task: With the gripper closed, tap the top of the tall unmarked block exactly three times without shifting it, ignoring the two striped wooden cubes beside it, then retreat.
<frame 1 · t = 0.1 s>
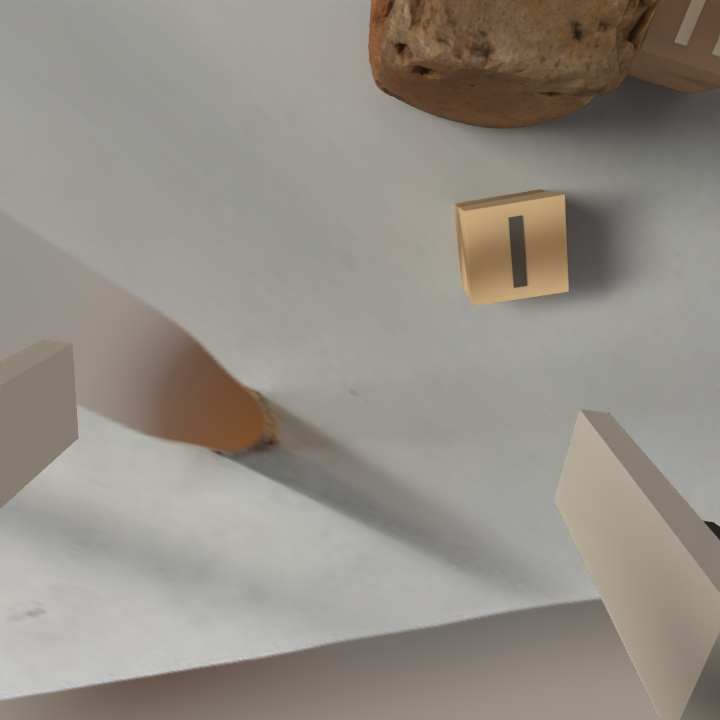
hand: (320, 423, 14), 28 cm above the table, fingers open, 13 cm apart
block: (454, 62, 36), on the table
cube one stripe: (499, 239, 40), on the table
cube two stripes: (665, 30, 35), on the table
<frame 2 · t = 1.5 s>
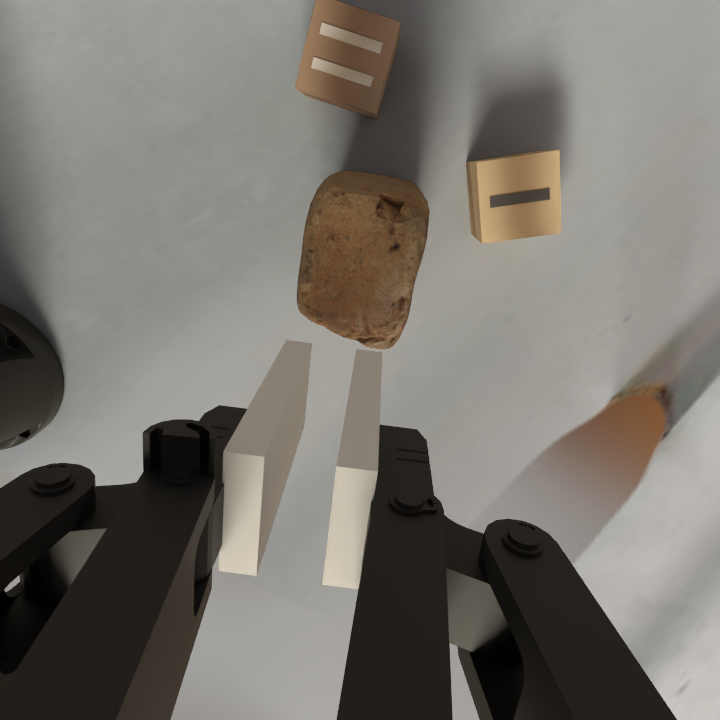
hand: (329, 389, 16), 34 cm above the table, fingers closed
block: (368, 235, 49), on the table
cube one stripe: (503, 193, 47), on the table
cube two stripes: (352, 68, 44), on the table
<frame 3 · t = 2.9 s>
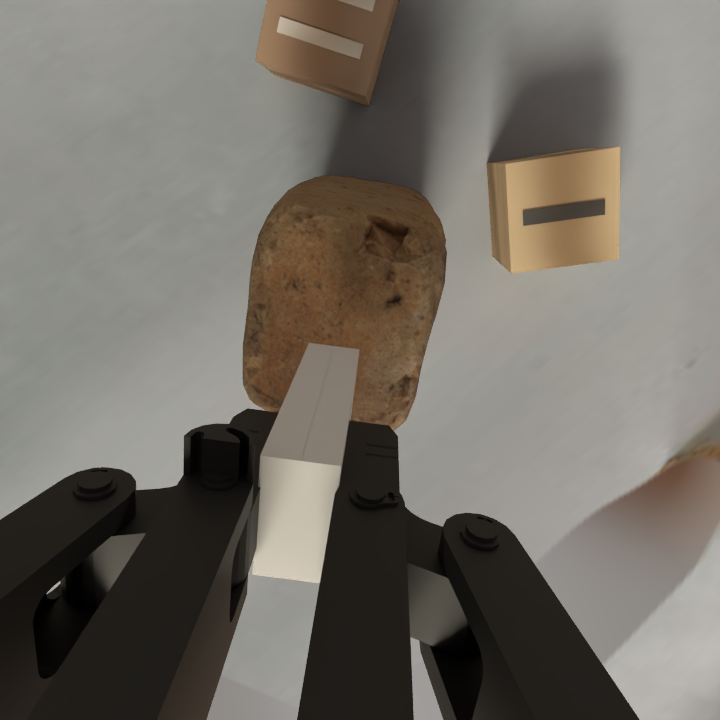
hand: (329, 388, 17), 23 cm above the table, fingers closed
block: (360, 258, 38), on the table
cube one stripe: (535, 204, 36), on the table
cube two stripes: (336, 38, 33), on the table
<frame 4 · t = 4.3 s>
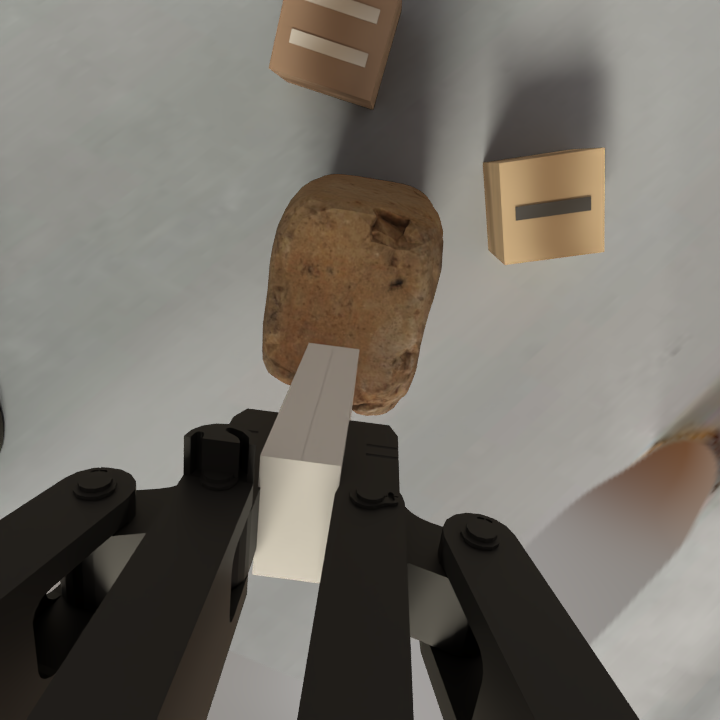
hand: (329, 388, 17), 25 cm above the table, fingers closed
block: (364, 252, 40), on the table
cube one stripe: (528, 201, 39), on the table
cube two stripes: (342, 47, 36), on the table
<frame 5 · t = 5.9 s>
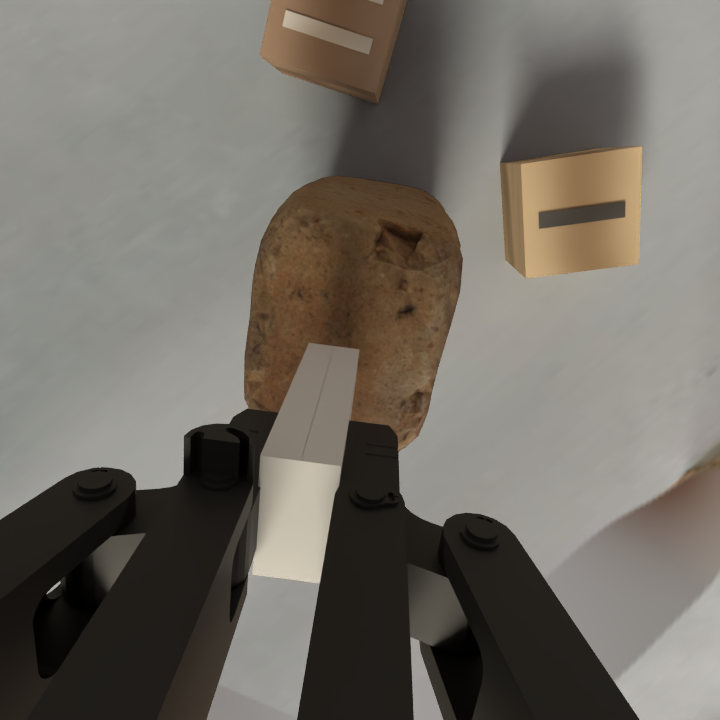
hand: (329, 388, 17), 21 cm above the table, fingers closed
block: (367, 261, 37), on the table
cube one stripe: (550, 205, 35), on the table
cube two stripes: (344, 34, 32), on the table
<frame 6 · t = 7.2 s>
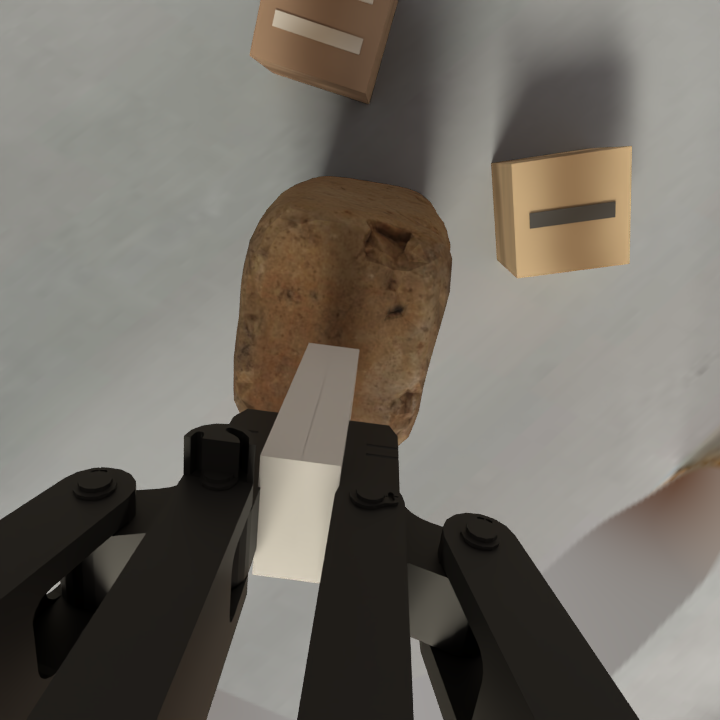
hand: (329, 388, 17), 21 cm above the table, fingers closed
block: (359, 262, 37), on the table
cube one stripe: (542, 205, 35), on the table
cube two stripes: (335, 34, 32), on the table
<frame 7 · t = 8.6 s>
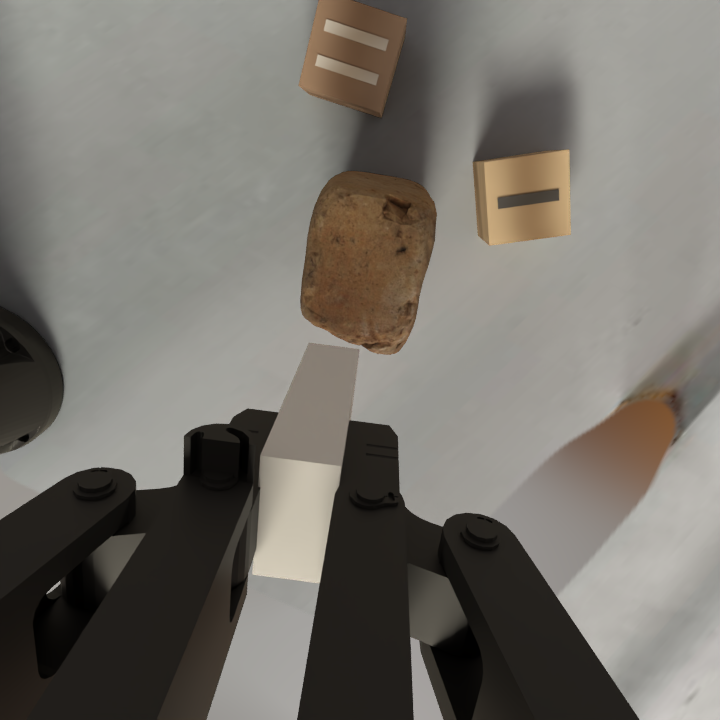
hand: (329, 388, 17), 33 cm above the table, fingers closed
block: (373, 237, 48), on the table
cube one stripe: (511, 194, 46), on the table
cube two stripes: (356, 66, 44), on the table
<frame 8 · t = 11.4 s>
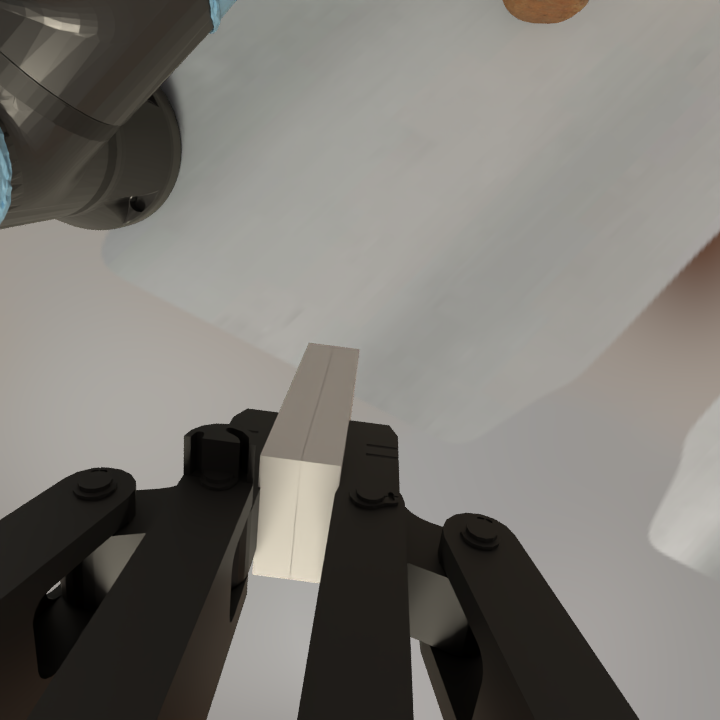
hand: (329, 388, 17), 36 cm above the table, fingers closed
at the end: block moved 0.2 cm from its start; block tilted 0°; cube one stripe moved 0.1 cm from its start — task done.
